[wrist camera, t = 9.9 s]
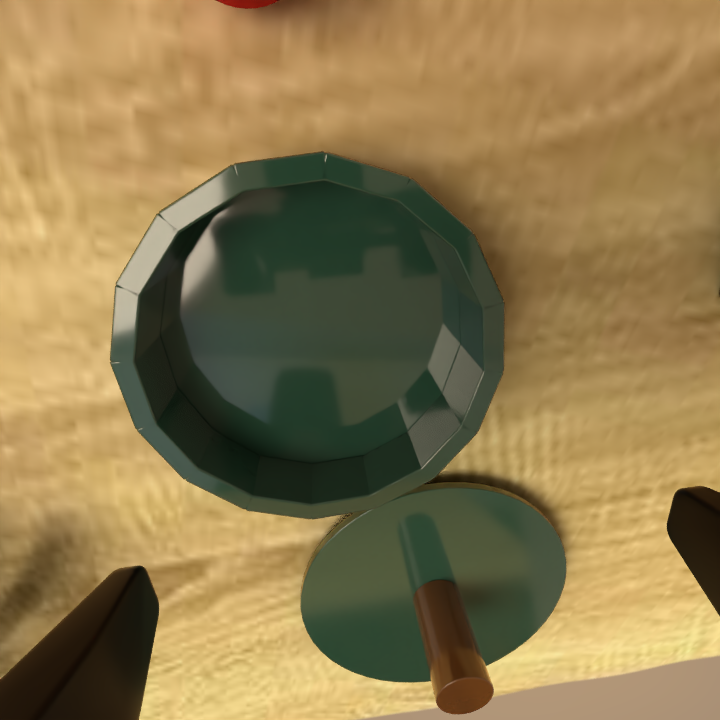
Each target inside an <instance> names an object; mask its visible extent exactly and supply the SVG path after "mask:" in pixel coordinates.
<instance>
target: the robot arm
mask: <svg viewBox="0 0 720 720" xmlns="http://www.w3.org/2000/svg"><path fill="white" fill-rule="evenodd" d="M667 531H668V534H669V537H670V539H671V541H672V543H673V544H674V546H675V547H676V549H677V550H678V552H679V553H680V555H681V557H682V558H683V560H684V561H685V563H686V564H687V566H688V567H689V569H690V571H691V572H692V574H693V575H694V577H695V578H696V580H697V581H698V583H699V585H700V586H701V588H702V589H703V591H704V592H705V594H706V595H707V597H708V599H709V600H710V602H711V603H712V605H713V606H714V608H715V610H716V611H717V613H718V614H719V616H720V492H717V491H715V490H712V489H710V488H707V487H704V486H695V487H688V488H681V489H679V490H677V491H676V492H675V494H674V497H673V501H672V505H671V509H670V513H669V517H668V521H667ZM158 616H159V602H158V598H157V595H156V593H155V590H154V588H153V585H152V583H151V580H150V577H149V575H148V572H147V570H146V569H145V568H144V567H143V566H132V567H125V568H119V569H117V570H115V571H114V572H112V573H111V574H110V575H109V576H108V577H107V578H106V579H105V580H104V581H103V582H102V583H101V584H100V585H99V586H97V587H96V588H95V589H94V590H93V591H92V592H91V593H90V594H89V595H88V596H87V597H86V598H85V599H84V600H83V601H82V602H81V603H80V604H79V605H78V606H77V607H76V608H75V609H73V610H72V611H71V612H70V613H69V614H68V615H67V616H66V617H65V618H64V619H63V620H62V621H61V622H60V623H59V624H58V625H57V626H56V627H55V628H54V629H53V630H52V631H51V632H49V633H48V634H47V635H46V636H45V637H44V638H43V639H42V640H41V641H40V642H39V643H38V644H37V645H36V646H35V647H34V648H33V649H32V650H31V651H30V652H29V653H28V654H27V655H25V656H24V657H23V658H22V659H21V660H20V661H19V662H18V663H17V664H16V665H15V666H14V667H13V668H12V669H11V670H10V671H9V672H8V673H7V674H6V675H5V676H4V677H3V678H1V679H0V720H139V716H140V711H141V706H142V701H143V696H144V691H145V685H146V680H147V675H148V669H149V664H150V659H151V653H152V648H153V643H154V637H155V632H156V627H157V621H158Z"/></svg>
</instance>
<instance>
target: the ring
mask: <svg viewBox="0 0 720 720" xmlns="http://www.w3.org/2000/svg"><path fill="white" fill-rule="evenodd" d="M110 361H111V362H110V364H111V366H112V369H113V372H114V374H115V377H116V379H117V382H118V384H119V387H120V390H121V392H122V395H123V397H124V400H125V403H126V405H127V408H128V410H129V413H130V415H131V418H132V421H133V423H134V426H135V428H136V429H137V431H138V432H139V433H140V434H141V435H142V436H143V437H144V438H145V439H146V440H147V442H148V443H149V444H150V445H151V446H152V447H153V448H154V449H155V450H156V451H157V452H158V453H159V454H160V455H161V456H162V457H163V458H164V459H165V460H166V461H167V462H168V463H169V464H170V466H171V467H172V468H173V469H174V470H175V471H176V472H177V473H178V474H179V475H180V476H181V477H182V478H183V479H186V481H187V482H189V483H191V484H194V485H196V486H198V487H200V488H202V489H204V490H206V491H208V492H210V493H212V494H214V495H216V496H218V497H220V498H222V499H224V500H226V501H228V502H230V503H232V504H234V505H236V506H238V507H240V508H242V509H246V510H247V511H254V512H261V513H268V514H275V515H282V516H289V517H297V518H304V519H311V518H312V519H318V518H324V517H330V516H336V515H342V514H348V513H353V512H359V511H365V510H371V509H375V508H378V507H380V506H382V505H384V504H386V503H388V502H390V501H392V500H394V499H396V498H398V497H400V496H401V495H403V494H405V493H407V492H409V491H411V490H413V489H415V488H417V487H419V486H421V485H423V484H425V483H427V482H429V481H430V480H432V479H434V478H435V477H436V476H437V475H438V474H439V473H440V471H441V470H442V469H443V468H444V467H445V466H446V465H447V464H448V463H449V462H450V461H451V460H452V459H453V458H454V457H455V456H456V455H457V454H458V453H459V452H460V451H461V450H462V449H463V448H464V446H465V445H466V444H467V443H468V442H469V441H470V440H471V439H472V438H473V437H474V436H475V435H476V434H477V432H478V431H479V429H480V426H481V424H482V422H483V419H484V417H485V415H486V412H487V410H488V408H489V405H490V403H491V401H492V398H493V396H494V394H495V391H496V389H497V387H498V384H499V382H500V380H501V377H502V375H503V371H504V302H503V298H502V295H501V293H500V291H499V289H498V286H497V284H496V282H495V279H494V277H493V275H492V273H491V270H490V268H489V266H488V264H487V261H486V259H485V257H484V255H483V252H482V250H481V248H480V245H479V243H478V241H477V239H476V236H475V234H473V232H472V230H471V229H469V228H468V227H467V226H466V225H465V224H464V223H463V222H461V221H460V220H459V219H458V218H457V217H456V216H455V215H454V214H452V213H451V212H450V211H449V210H448V209H447V208H446V207H444V206H443V205H442V204H441V203H440V202H439V201H438V200H437V199H435V198H434V197H433V196H432V195H431V194H430V193H429V192H427V191H426V190H425V189H424V188H423V187H422V186H421V185H420V184H418V183H417V182H416V181H415V180H414V179H412V178H410V177H409V176H406V175H402V174H399V173H396V172H392V171H389V170H386V169H383V168H379V167H376V166H373V165H369V164H366V163H363V162H359V161H356V160H353V159H350V158H346V157H343V156H340V155H336V154H333V153H330V152H323V151H321V152H314V153H307V154H299V155H292V156H284V157H277V158H270V159H262V160H255V161H247V162H240V163H235V164H234V165H230V166H228V167H227V168H225V169H224V170H222V171H221V172H219V173H218V174H216V175H215V176H213V177H211V178H210V179H208V180H207V181H205V182H204V183H202V184H201V185H199V186H198V187H196V188H194V189H193V190H191V191H190V192H188V193H187V194H185V195H184V196H182V197H181V198H179V199H178V200H176V201H174V202H173V203H171V204H170V205H168V206H167V207H165V208H164V209H162V210H161V211H160V212H159V213H158V214H156V216H155V218H154V219H153V221H152V223H151V224H150V226H149V228H148V230H147V231H146V233H145V235H144V236H143V238H142V240H141V241H140V243H139V245H138V246H137V248H136V250H135V251H134V253H133V255H132V257H131V258H130V260H129V262H128V263H127V265H126V267H125V268H124V270H123V272H122V273H121V275H120V277H119V278H118V280H117V282H116V286H115V295H114V309H113V324H112V338H111V352H110Z"/></svg>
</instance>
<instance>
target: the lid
mask: <svg viewBox="0 0 720 720" xmlns="http://www.w3.org/2000/svg"><path fill="white" fill-rule="evenodd" d="M565 578H566V557H565V551H564V547H563V545H562V542H561V539H560V537H559V535H558V534H557V532H556V530H555V529H554V527H553V526H552V524H551V523H550V521H549V520H548V519H547V518H546V517H545V516H544V514H543V513H542V512H541V511H540V510H539V509H537V508H536V507H535V506H534V505H532V504H531V503H530V502H528V501H527V500H525V499H523V498H521V497H519V496H517V495H516V494H514V493H511V492H508V491H506V490H503V489H500V488H497V487H493V486H489V485H484V484H478V483H468V482H441V483H432V484H425V485H421V486H419V487H417V488H415V489H413V490H411V491H409V492H407V493H405V494H403V495H401V496H400V497H398V498H396V499H394V500H392V501H390V502H388V503H386V504H384V505H382V506H380V507H378V508H375V509H371V510H365V511H359V512H354V513H352V514H351V515H350V516H348V517H347V518H346V519H344V520H343V521H342V522H340V523H339V524H338V525H337V526H336V527H335V528H334V529H333V530H332V531H331V532H330V533H329V534H328V535H327V536H326V537H325V539H324V540H323V541H322V542H321V544H320V545H319V546H318V547H317V549H316V551H315V552H314V554H313V556H312V557H311V559H310V561H309V563H308V566H307V568H306V571H305V573H304V577H303V581H302V586H301V613H302V619H303V622H304V625H305V627H306V630H307V632H308V634H309V636H310V637H311V639H312V641H313V642H314V644H315V645H316V646H317V647H318V648H319V649H320V651H321V652H322V653H324V654H325V655H326V656H327V657H328V658H329V659H331V660H332V661H333V662H335V663H337V664H338V665H340V666H341V667H343V668H345V669H347V670H350V671H352V672H354V673H357V674H360V675H363V676H366V677H369V678H374V679H378V680H383V681H392V682H428V681H431V682H432V686H433V691H434V695H435V699H436V703H437V705H438V707H439V708H440V709H441V710H442V711H444V712H446V713H451V714H466V713H470V712H473V711H476V710H478V709H480V708H482V707H483V706H485V705H486V704H487V703H488V702H489V701H490V700H491V698H492V696H493V692H494V689H493V685H492V682H491V679H490V677H489V674H488V671H487V668H486V666H487V665H489V664H491V663H493V662H495V661H497V660H499V659H501V658H503V657H504V656H506V655H507V654H509V653H511V652H512V651H514V650H515V649H517V648H518V647H519V646H521V645H522V644H523V643H525V642H526V641H527V640H528V639H529V638H530V637H531V636H532V635H533V634H535V633H536V632H537V631H538V630H539V628H540V627H541V626H542V625H543V624H544V623H545V622H546V620H547V619H548V617H549V616H550V614H551V613H552V612H553V610H554V608H555V606H556V604H557V603H558V601H559V599H560V596H561V593H562V590H563V587H564V584H565Z"/></svg>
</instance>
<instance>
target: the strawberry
mask: <svg viewBox="0 0 720 720" xmlns="http://www.w3.org/2000/svg"><path fill="white" fill-rule="evenodd" d="M216 1H218V2H221V3H223V4H225V5H229V6H233V7H237V8H245V9H248V8H259V7H264V6H268V5H270V4H273V3H275V2H277V1H279V0H216Z"/></svg>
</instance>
